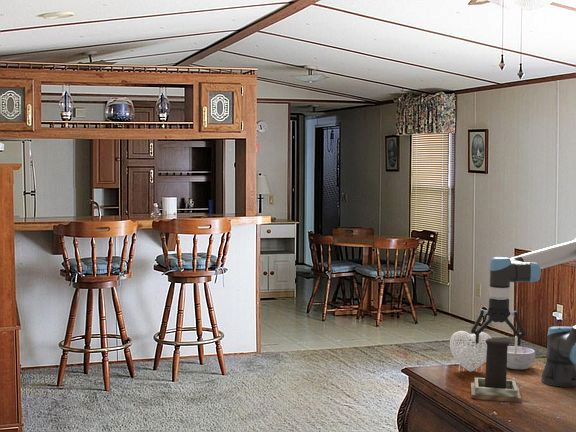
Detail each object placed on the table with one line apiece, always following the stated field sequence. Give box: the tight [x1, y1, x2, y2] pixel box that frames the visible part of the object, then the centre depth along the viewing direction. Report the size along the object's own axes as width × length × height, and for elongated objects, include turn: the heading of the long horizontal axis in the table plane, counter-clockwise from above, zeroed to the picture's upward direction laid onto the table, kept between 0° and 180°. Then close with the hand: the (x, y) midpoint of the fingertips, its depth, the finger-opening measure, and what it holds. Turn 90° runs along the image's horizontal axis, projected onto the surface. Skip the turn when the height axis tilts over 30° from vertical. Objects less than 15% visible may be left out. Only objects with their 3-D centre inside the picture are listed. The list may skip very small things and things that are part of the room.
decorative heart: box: [449, 330, 492, 373], centre depth 364 cm, size 18×11×17 cm, turn 81°
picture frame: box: [470, 377, 522, 403], centre depth 329 cm, size 18×18×4 cm
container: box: [484, 337, 510, 389], centre depth 328 cm, size 9×9×20 cm
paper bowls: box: [507, 345, 536, 370], centre depth 374 cm, size 15×15×8 cm
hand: (497, 352), depth 328 cm, fingers open, 13 cm apart
